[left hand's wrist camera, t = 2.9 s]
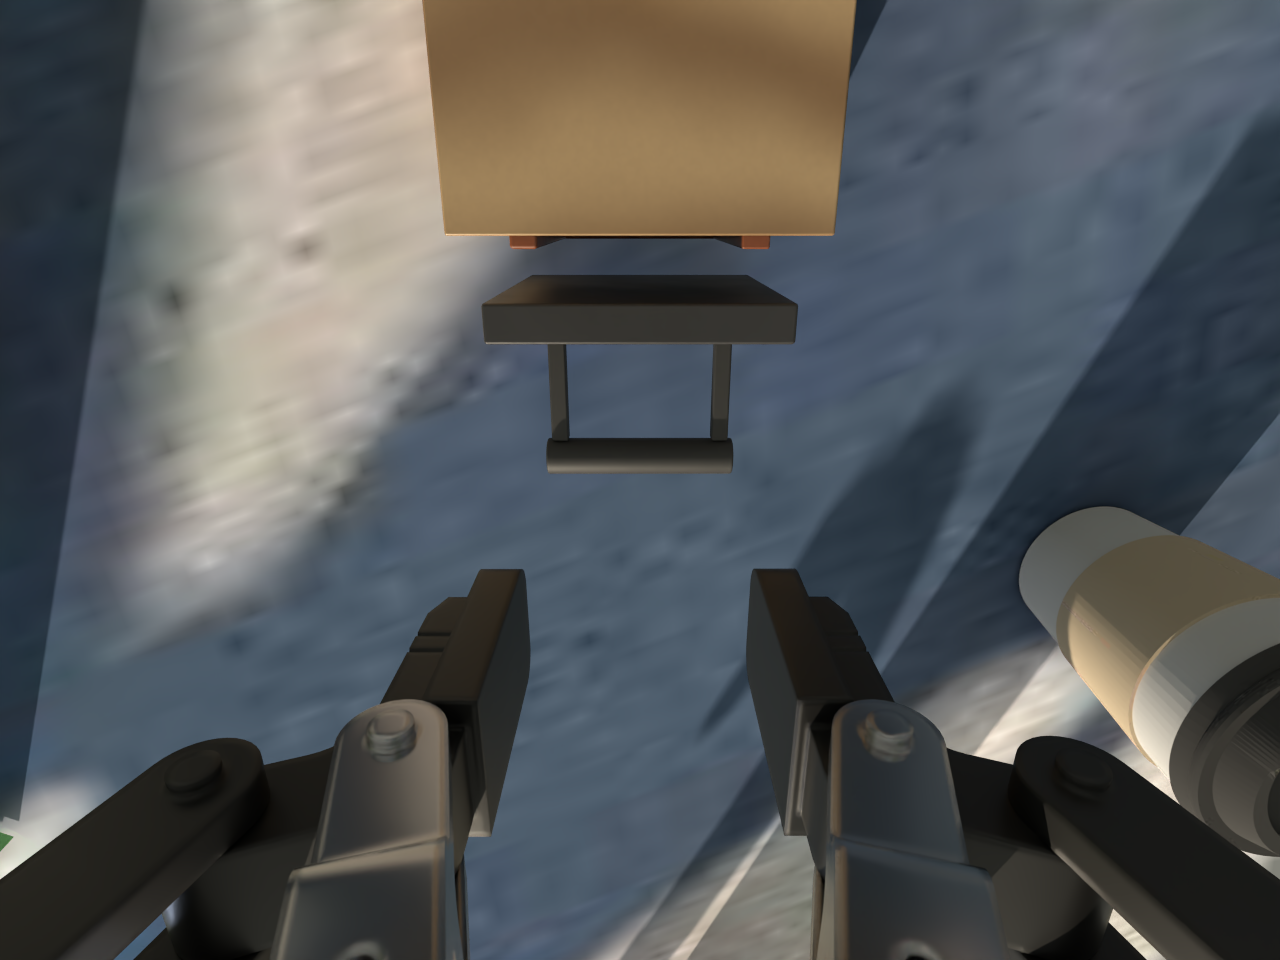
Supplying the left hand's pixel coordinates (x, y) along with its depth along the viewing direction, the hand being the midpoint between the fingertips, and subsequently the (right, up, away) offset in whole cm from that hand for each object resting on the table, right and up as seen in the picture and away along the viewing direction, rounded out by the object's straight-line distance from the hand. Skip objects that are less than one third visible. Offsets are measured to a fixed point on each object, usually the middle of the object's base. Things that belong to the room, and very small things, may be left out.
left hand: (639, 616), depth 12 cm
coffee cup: (+23, -2, +24) cm, 33 cm away
